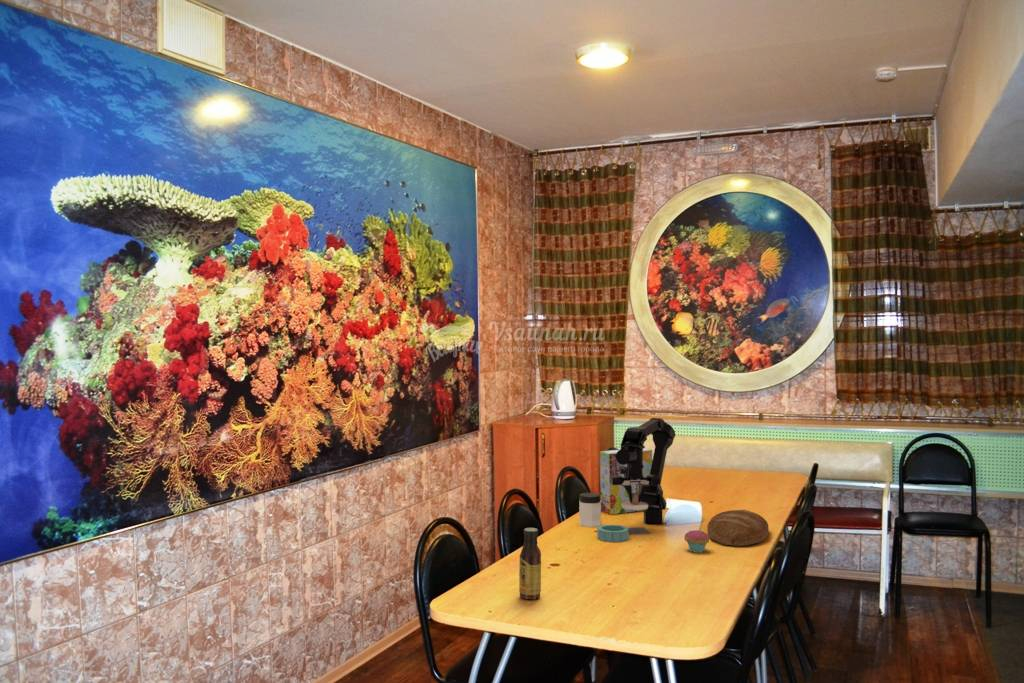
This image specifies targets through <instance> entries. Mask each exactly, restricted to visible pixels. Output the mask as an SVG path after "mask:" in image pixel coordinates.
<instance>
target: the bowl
mask: <svg viewBox="0 0 1024 683" xmlns="http://www.w3.org/2000/svg"><path fill="white" fill-rule="evenodd" d="M629 528H630V527H628V526H625V525H622V524H621V525H620V524H603V525H602V524H601V526H596V536H597V539H598V540H599V541H602V542H608V543H622V542H626V541H628V540H629V537H630V534H629Z"/></svg>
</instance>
